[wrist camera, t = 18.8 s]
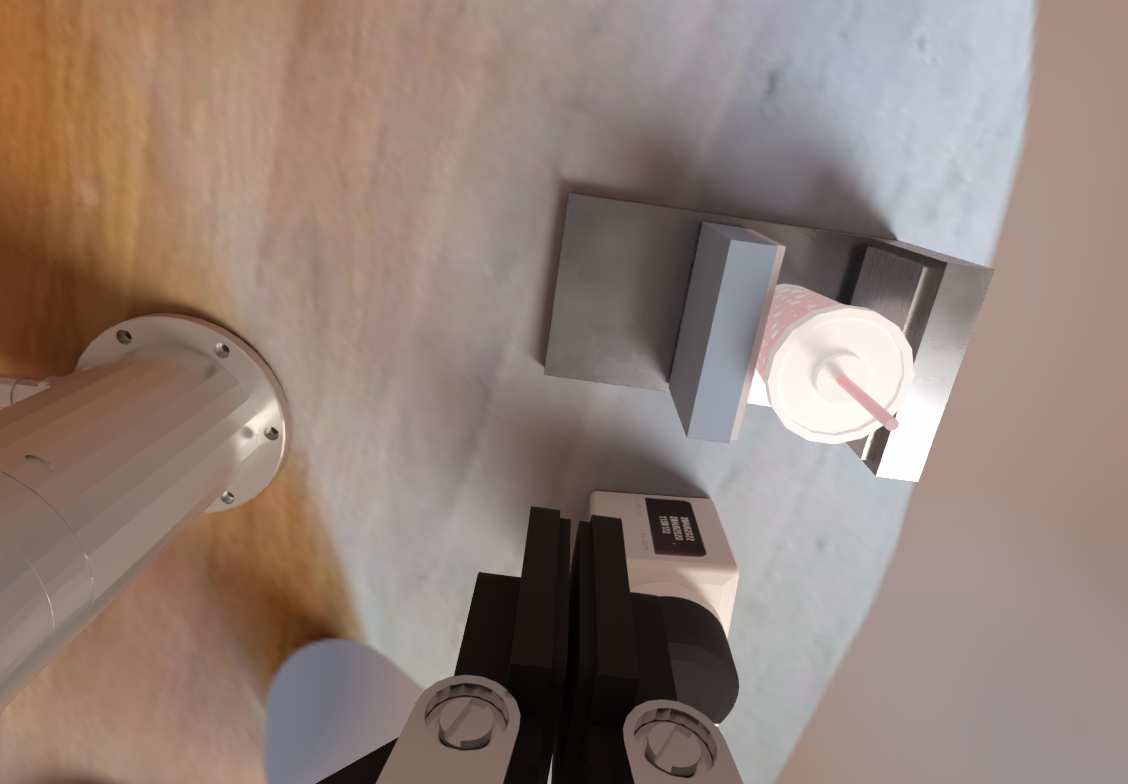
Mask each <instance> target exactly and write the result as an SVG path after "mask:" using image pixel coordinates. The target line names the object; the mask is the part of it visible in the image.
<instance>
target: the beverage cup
mask: <svg viewBox="0 0 1128 784" xmlns="http://www.w3.org/2000/svg"><path fill="white" fill-rule="evenodd" d="M756 369H757V371H758V372H759V374H760V376H761V378H762V379H763V381H764V383H765V387H766V393H767V399H768V401H769V403H770V405H771V407H772V408H773V410H774V411H775V412H776V414H777V415H778V417H779V418H780V420H781V421H782V423H783V424H784V425H785V427H786V428H788V429H789V430H791V431H793V432H794V433H796V434H798V435H800V436H801V437H803V438H805V439H806V440H808V441H815V442H822V443H830V444H838V443H843V442H847V441H852V440H857V439H861V438H864V437H865V436H867V435H869V434H870V433H872V432H873V431H875V430H877V429H878V428H880V427H882V426H884V427H885V428H886V429H887V430H889V431H894V430H896V429H897V428H898V426H899V422H898V420H897V419H896V418H894V417H893V416H894V414H895V413H896V412H897V411H898V409H899V408H900V407H901V406H902V405H903V403H904V402H905V401H906V398H907V395H908V392H909V389H910V386H911V383H912V380H913V377H914V367H913V355H912V348H911V346H910V345H909V343H908V341H907V340H906V338H905V336H904V335H903V333H902V331H901V330H900V328H899V326H897V325H896V324H894V323H892V322H891V321H889V320H888V319H886V318H885V317H883V316H881V315H880V314H878V313H877V312H875V311H873V310H870V309H868V308H864V307H857V306H850V305H844V304H842V303H839V302H837V301H834V300H832V299H830V298H827V297H825V296H823V295H820V294H818V293H816V292H813V291H811V290H808V289H806V288H804V287H801V286H797V285H790V284H780V285H776V288H775V292H774V296H773V300H772V304H771V308H770V312H769V316H768V320H767V324H766V328H765V332H764V336H763V340H762V344H761V348H760V352H759V356H758V360H757V364H756Z"/></svg>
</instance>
